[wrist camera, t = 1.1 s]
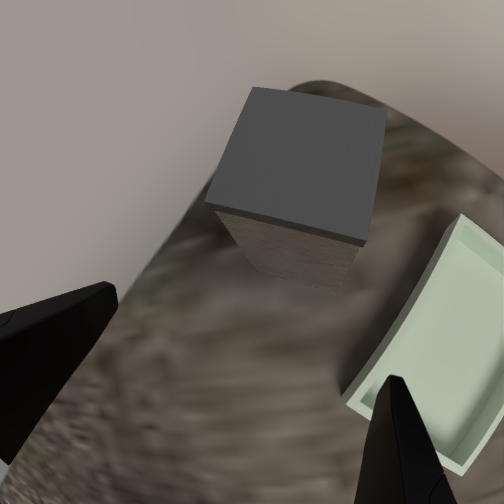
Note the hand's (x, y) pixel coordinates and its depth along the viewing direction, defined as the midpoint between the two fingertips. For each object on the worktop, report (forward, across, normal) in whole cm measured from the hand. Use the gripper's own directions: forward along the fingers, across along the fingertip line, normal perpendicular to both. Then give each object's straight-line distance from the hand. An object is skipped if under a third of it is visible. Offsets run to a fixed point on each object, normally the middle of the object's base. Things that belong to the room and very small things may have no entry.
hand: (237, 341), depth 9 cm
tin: (+15, 0, +4) cm, 15 cm away
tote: (+12, -13, +7) cm, 19 cm away
